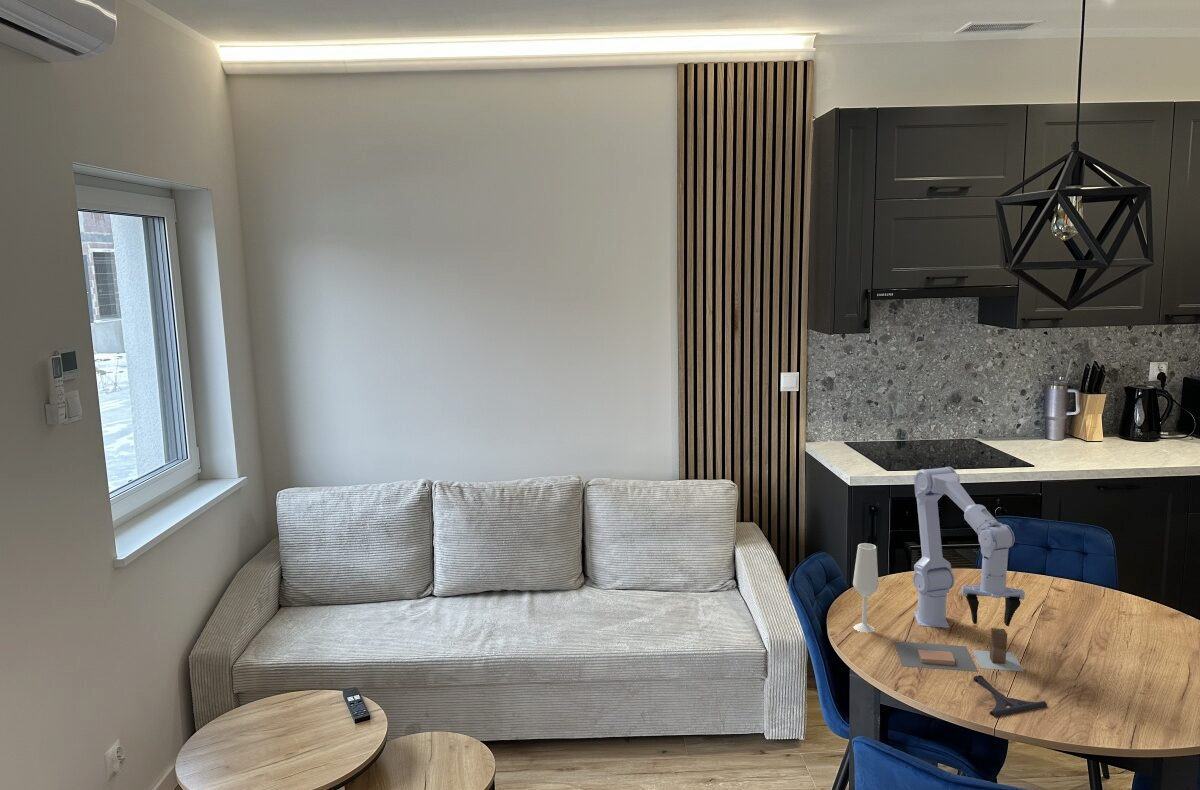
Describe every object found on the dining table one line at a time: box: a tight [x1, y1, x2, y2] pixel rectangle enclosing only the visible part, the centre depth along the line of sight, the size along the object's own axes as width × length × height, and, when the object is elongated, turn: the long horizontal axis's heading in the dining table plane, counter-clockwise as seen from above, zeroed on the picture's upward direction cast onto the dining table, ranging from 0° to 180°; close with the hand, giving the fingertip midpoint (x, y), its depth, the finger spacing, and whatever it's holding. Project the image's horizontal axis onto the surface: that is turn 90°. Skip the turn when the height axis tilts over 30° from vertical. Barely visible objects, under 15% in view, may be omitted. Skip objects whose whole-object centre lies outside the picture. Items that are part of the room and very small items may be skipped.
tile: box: [918, 650, 955, 665], centre depth 218 cm, size 1×8×5 cm
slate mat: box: [894, 640, 979, 673], centre depth 220 cm, size 14×18×1 cm
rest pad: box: [971, 649, 1025, 672], centre depth 217 cm, size 10×10×1 cm
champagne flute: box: [852, 542, 879, 634], centre depth 235 cm, size 7×7×24 cm
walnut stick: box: [989, 627, 1008, 664], centre depth 216 cm, size 3×3×8 cm
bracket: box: [973, 674, 1048, 718], centre depth 201 cm, size 14×15×3 cm
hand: (990, 623), depth 218 cm, fingers open, 7 cm apart
